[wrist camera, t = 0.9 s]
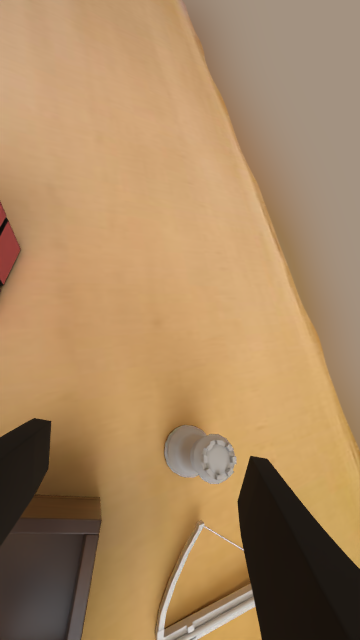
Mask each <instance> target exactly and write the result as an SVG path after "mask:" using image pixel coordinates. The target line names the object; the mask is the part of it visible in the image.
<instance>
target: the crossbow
mask: <svg viewBox="0 0 360 640" xmlns="http://www.w3.org/2000/svg"><path fill="white" fill-rule="evenodd" d="M203 527H205V528H207V529H208V530H210V531H212V532H213V533H215V534H217V533H216V532H214V531H213V530H211V529H209V528H208V527H206V526H204V522H203V521H202V520H200V521H198V522H197V523H196V527H195V529H194V531H193V532H192V534H191V536H190V538H189V539H188V541H187V543H186V545H185V547H184V548H183V550H182V552H181V555H180V557H179V559H178V561H177V563H176V566H175V568H174V570H173V572H172V575H171V577H170V579H169V582H168V585H167V587H166V590H165V593H164V596H163V599H162V602H161V605H160V608H159V613H158V619H157V624H156V631H155V635H156V640H197V639H199V638H201V637H202V636H204V635H206V634H208V633H209V632H211V631H213V630H215V629H216V628H218V627H220V626H222V625H224V624H225V623H227V622H229V621H231V620H232V619H234V618H236V617H238V616H239V615H241V614H243V613H245V612H246V611H248V610H250V609H252V608H253V607H255V602H254V597H253V592H252V587H251V583H250V584H248V585H246V586H244V587H242V588H241V589H239V590H237V591H235V592H233V593H231V594H229V595H228V596H226V597H224V598H222V599H220V600H218V601H216V602H215V603H213V604H211V605H209V606H207V607H205V608H203V609H202V610H200V611H198V612H196V613H194V614H192V615H190V616H189V617H187V618H185V619H183V620H181V621H179V622H177V623H176V624H174V625H172V626H170V627H168V628H166V629H164V624H165V618H166V611H167V608H168V605H169V602H170V600H171V597H172V594H173V591H174V588H175V585H176V582H177V580H178V577H179V575H180V573H181V570H182V568H183V566H184V564H185V561H186V559H187V557H188V554H189V552H190V550H191V548H192V547H193V545H194V543H195V541H196V539H197V538H198V536H199V534H200V532H201V530H202V529H203ZM217 535H218V536H220V537H222V536H221V535H219V534H217ZM222 538H223V539H225V540H226V541H228V542H230V543H231V544H233V545H235V546H236V547H238V548H240V549H241V550H243V551H244V549H242V548H241V547H239V546H237V545H236V544H234V543H232V542H231V541H229V540H227V539H226V538H224V537H222Z"/></svg>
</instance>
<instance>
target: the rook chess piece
mask: <svg viewBox="0 0 360 640" xmlns="http://www.w3.org/2000/svg"><path fill="white" fill-rule="evenodd" d="M165 458H166V461H167V465H168V466H169V467H170V468H171V470H172V471H173V472H174V473H176V474H178V475H180V476H183V477H196V476H198V475H199V476H200V477H201V478H202V480H204V481H206V482H208V483H210V484H219V483H221V482H223V481H225V480H227V478H228V477H230V476H231V475H232V474H233V472H234V471H233V468H234V465H235V464H236V456H235V454H234V451H233V448H232V445H231V444H230V443H229V442H228V440H227V439H226V438H224V437H223V436H221V435H219V434H210V435H206V434H205V433H204V431H203V430H201V429H199V428H197V427H195V426H191V425H183V426H180V427H178V428H176V429H175V430H174V431H173V432H172V433H171V434H170V435H169V437H168V439H167V441H166V443H165Z"/></svg>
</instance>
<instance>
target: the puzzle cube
mask: <svg viewBox="0 0 360 640" xmlns="http://www.w3.org/2000/svg"><path fill="white" fill-rule="evenodd" d="M20 250H21V249H20V246H19V244H18V242H17V239H16V237H15V235H14V232H13V230H12V228H11V226H10V223H9V221H8V219H7V218H6V214H5V211H4V209H3V207H2V204H1V202H0V286H2V285H4V283H5V281H6V279H7V277H8V275H9V273H10V270H11V268H12V266H13V264H14V262H15V260H16V258H17V256H18V254H19V252H20ZM0 291H1V290H0Z"/></svg>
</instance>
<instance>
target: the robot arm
mask: <svg viewBox="0 0 360 640" xmlns="http://www.w3.org/2000/svg"><path fill="white" fill-rule="evenodd" d="M50 432H51V421H48V420H42V419H36V418H34V419H32V420H30V421H28V422H26V423H24V424H23V425H21V426H19V427H17V428H16V429H14V430H12V431H10V432H9V433H7V434H5V435H3V436H2V437H0V546H1V545H2V543H3V542H4V540H5V539H6V537H7V536H8V534H9V533H10V531H11V530H12V529H13V527H14V526H15V524H16V523H17V521H18V520H19V518H20V517H21V515H22V514H23V512H24V511H25V509H26V508H27V506H28V505H29V503H30V502H31V500H32V498H33V497H34V495H35V493H36V491H37V489H38V487H39V486H40V484H41V482H42V480H43V478H44V476H45V474H46V472H47V470H48V465H49V449H50ZM238 512H239V522H240V531H241V538H242V543H243V548H244V553H245V558H246V563H247V568H248V573H249V577H250V582H251V587H252V592H253V597H254V602H255V606H256V611H257V616H258V621H259V626H260V631H261V637H262V640H360V569H359V568H358V567H357V566H356V565H355V564H354V563H353V561H352V560H351V559H350V558H349V557H348V556H347V555H346V554H345V553H344V552H343V551H342V549H341V548H340V547H339V546H338V545H337V544H336V543H335V542H334V540H333V539H332V538H331V537H330V536H329V535H328V534H327V532H326V531H325V530H324V529H323V528H322V527H321V525H320V524H319V523H318V522H317V521H316V520H315V518H314V517H313V516H312V515H311V514H310V512H309V511H308V510H307V509H306V507H305V506H304V505H303V504H302V502H301V501H300V500H299V499H298V497H297V496H296V495H295V494H294V492H293V491H292V490H291V488H290V487H289V486H288V485H287V483H286V482H285V481H284V479H283V478H282V477H281V476H280V474H279V473H278V472H277V470H276V469H275V468H274V467H273V465H272V464H271V463H270V462H269V460H268V459H265V458H259V457H254V456H250V459H249V463H248V466H247V470H246V473H245V477H244V481H243V484H242V488H241V491H240V495H239V498H238Z"/></svg>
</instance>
